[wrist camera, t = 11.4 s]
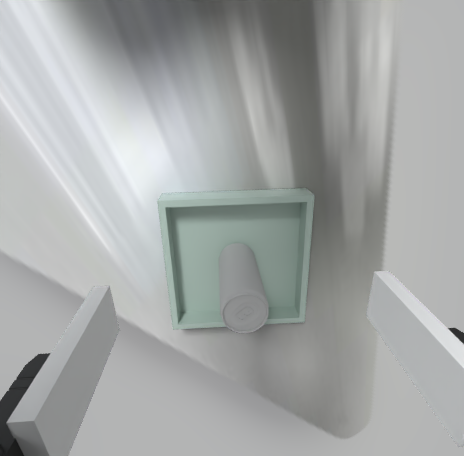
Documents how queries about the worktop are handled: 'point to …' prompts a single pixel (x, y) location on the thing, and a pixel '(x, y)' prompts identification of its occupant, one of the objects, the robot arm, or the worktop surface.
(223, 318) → the beverage can
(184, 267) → the tray
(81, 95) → the worktop surface
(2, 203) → the worktop surface
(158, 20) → the worktop surface
